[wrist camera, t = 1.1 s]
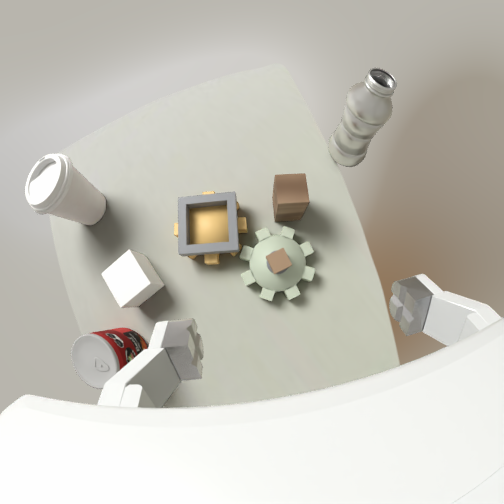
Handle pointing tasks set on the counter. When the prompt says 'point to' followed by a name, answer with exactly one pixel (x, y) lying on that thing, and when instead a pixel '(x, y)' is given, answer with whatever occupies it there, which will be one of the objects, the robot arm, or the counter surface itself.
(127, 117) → the counter surface
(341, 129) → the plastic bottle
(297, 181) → the peg
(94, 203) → the coffee cup
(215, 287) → the counter surface
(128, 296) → the white cube
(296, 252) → the gear
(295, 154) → the counter surface
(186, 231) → the frame
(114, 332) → the canned food
